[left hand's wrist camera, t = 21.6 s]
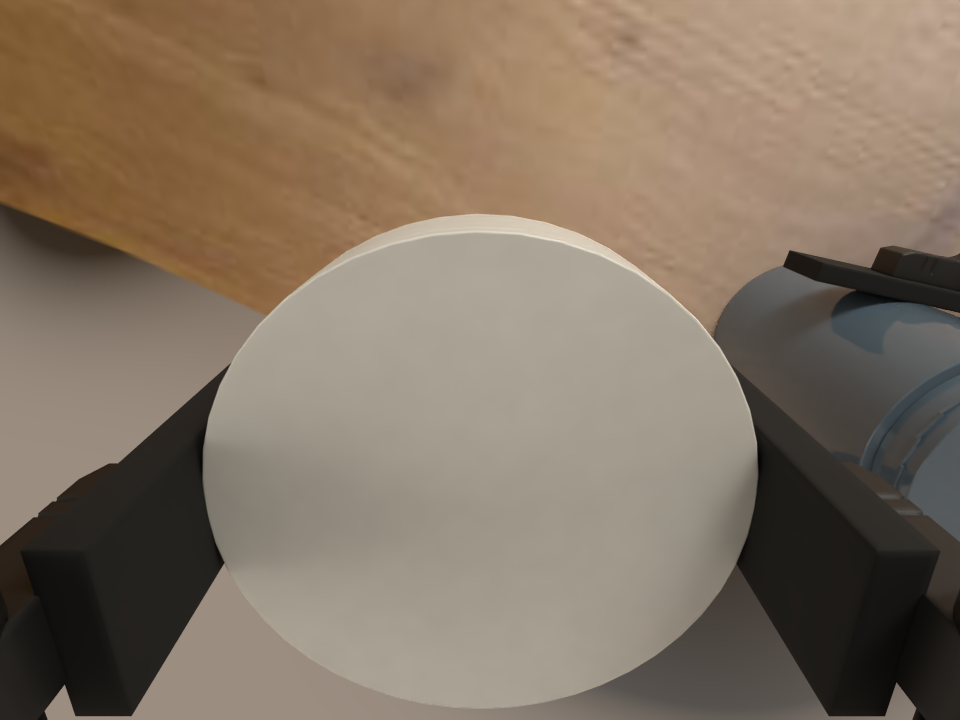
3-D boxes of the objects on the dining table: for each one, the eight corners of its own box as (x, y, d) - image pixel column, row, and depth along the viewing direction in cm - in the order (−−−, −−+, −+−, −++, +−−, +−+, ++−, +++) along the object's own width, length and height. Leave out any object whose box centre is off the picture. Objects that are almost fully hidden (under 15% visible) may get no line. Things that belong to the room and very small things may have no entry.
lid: (812, 367, 11) (880, 414, 9) (554, 683, 14) (566, 768, 12) (370, 108, 10) (343, 99, 8) (182, 524, 13) (127, 593, 11)
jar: (683, 332, 32) (842, 486, 18) (814, 230, 30) (1108, 314, 16) (765, 430, 35) (963, 636, 20) (892, 341, 33) (1211, 500, 18)
